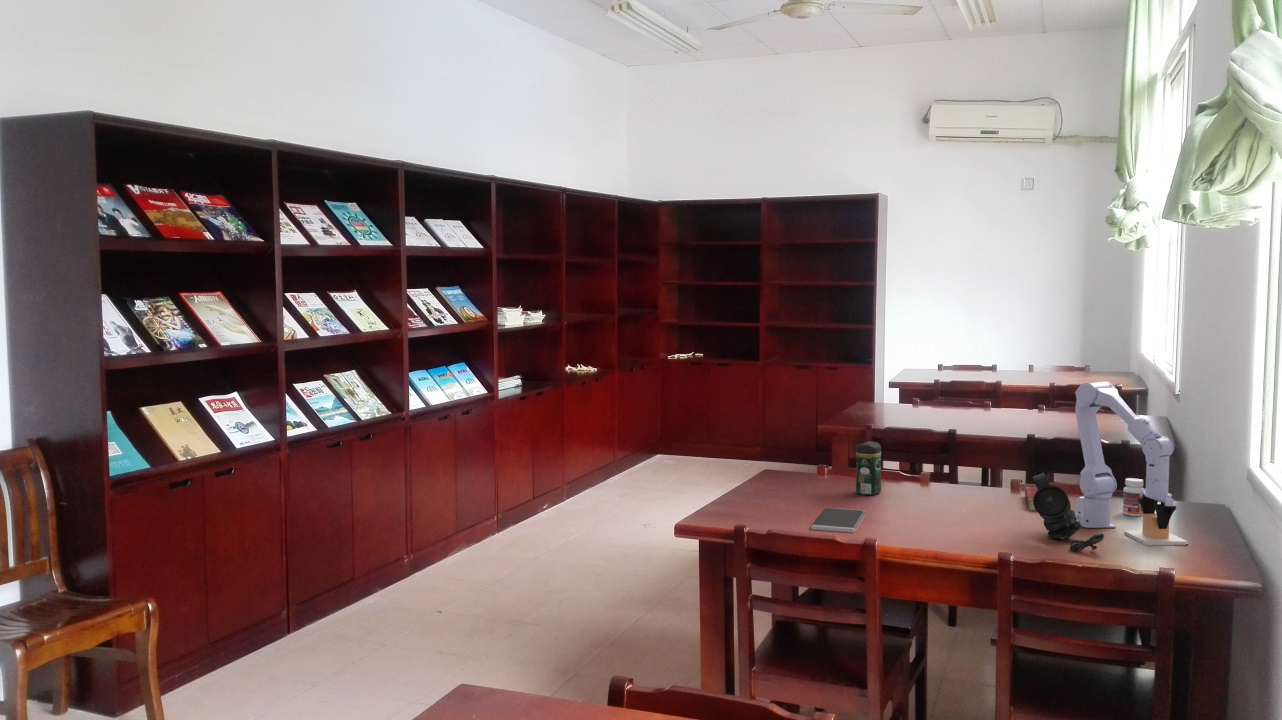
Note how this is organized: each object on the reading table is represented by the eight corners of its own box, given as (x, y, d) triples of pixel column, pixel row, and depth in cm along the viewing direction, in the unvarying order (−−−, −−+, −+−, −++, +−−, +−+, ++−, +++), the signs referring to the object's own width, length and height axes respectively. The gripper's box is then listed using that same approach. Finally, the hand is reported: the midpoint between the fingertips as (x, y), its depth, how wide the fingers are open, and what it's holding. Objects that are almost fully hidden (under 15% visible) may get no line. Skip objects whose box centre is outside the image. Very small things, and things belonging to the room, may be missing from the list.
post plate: (1144, 544, 269) (1145, 531, 268) (1124, 534, 281) (1124, 520, 280) (1187, 544, 268) (1188, 531, 268) (1165, 534, 280) (1165, 520, 280)
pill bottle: (1143, 517, 301) (1144, 482, 300) (1121, 515, 304) (1122, 480, 304) (1145, 513, 306) (1146, 479, 305) (1124, 511, 310) (1125, 477, 309)
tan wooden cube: (1151, 538, 272) (1151, 517, 272) (1142, 533, 277) (1142, 513, 277) (1168, 538, 272) (1169, 517, 272) (1159, 533, 277) (1160, 513, 276)
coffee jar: (863, 489, 346) (863, 439, 345) (883, 492, 341) (884, 441, 340) (852, 494, 338) (852, 442, 337) (873, 497, 334) (874, 444, 332)
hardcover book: (1028, 511, 313) (1028, 498, 312) (1024, 498, 332) (1025, 486, 332) (1067, 513, 309) (1068, 501, 308) (1062, 500, 328) (1062, 488, 328)
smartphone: (866, 515, 310) (866, 510, 310) (854, 534, 284) (854, 528, 284) (825, 512, 314) (825, 507, 314) (810, 530, 289) (810, 525, 289)
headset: (1066, 577, 268) (1037, 509, 292) (1115, 560, 263) (1081, 492, 288) (1045, 535, 260) (1017, 468, 284) (1095, 517, 255) (1062, 451, 280)
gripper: (1185, 484, 266) (1183, 531, 267) (1158, 474, 280) (1156, 519, 281) (1159, 484, 266) (1158, 531, 267) (1134, 474, 281) (1132, 519, 282)
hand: (1155, 525), depth 274 cm, fingers open, 7 cm apart
